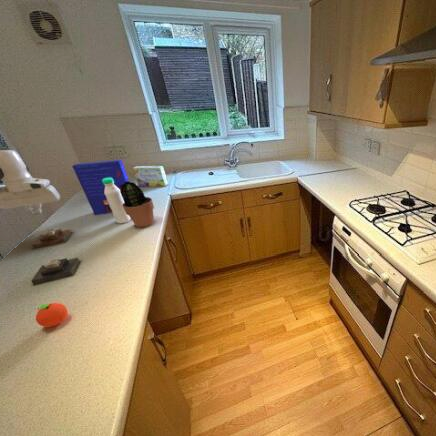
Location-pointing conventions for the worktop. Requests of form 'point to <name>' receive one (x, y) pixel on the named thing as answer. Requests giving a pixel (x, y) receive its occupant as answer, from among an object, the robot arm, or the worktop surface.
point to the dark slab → (56, 271)
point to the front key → (53, 263)
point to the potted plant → (137, 205)
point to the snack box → (150, 175)
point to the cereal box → (99, 181)
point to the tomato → (51, 314)
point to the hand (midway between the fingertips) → (37, 213)
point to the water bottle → (115, 200)
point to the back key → (49, 232)
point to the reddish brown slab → (52, 239)
